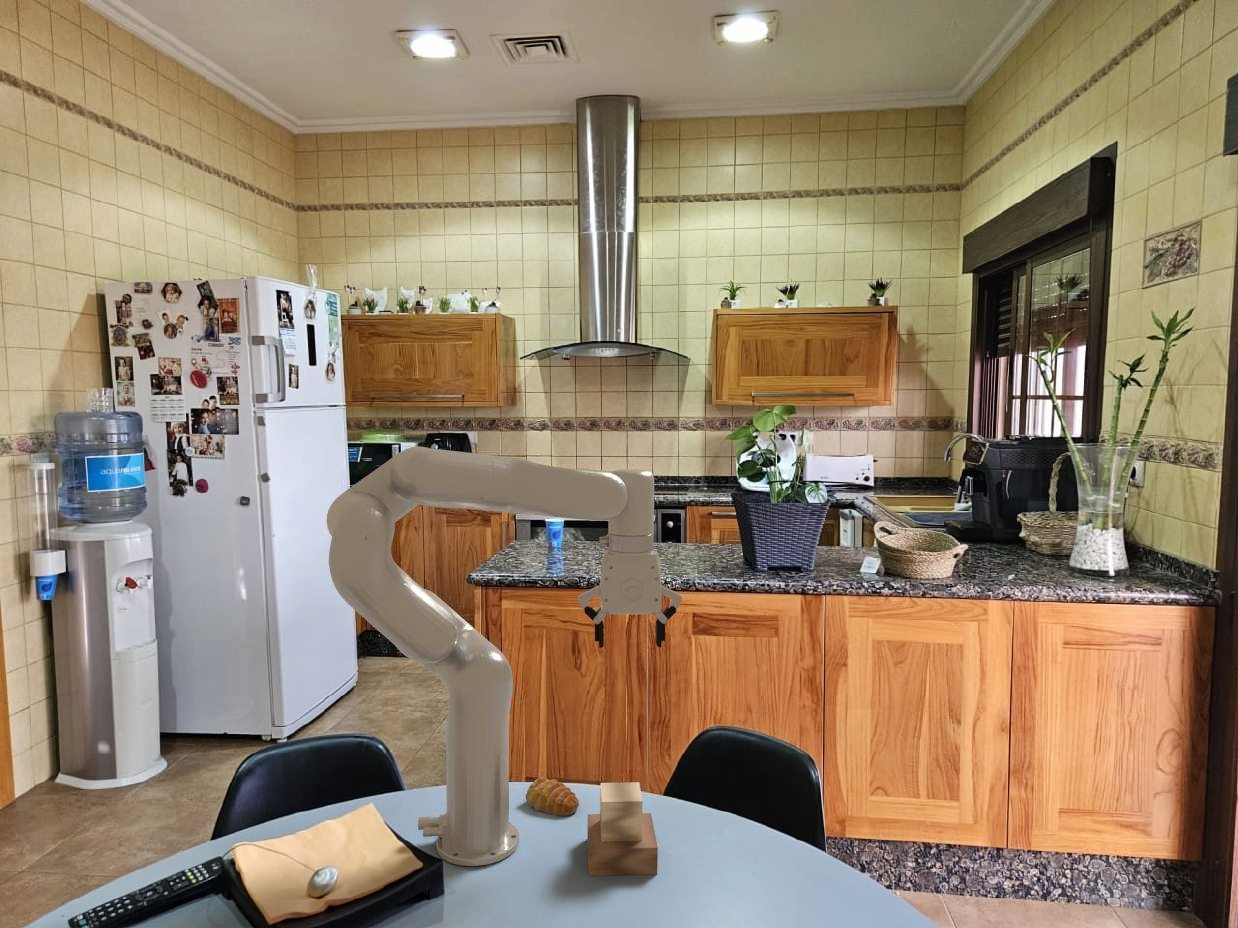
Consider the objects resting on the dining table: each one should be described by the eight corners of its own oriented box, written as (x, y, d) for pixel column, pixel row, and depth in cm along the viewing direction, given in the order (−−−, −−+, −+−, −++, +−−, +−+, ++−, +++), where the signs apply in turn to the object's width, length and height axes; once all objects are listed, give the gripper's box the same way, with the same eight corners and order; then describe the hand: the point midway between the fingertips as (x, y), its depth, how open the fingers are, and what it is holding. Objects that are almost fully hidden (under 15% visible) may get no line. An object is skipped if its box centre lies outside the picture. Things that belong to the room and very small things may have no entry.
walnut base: (588, 875, 115) (588, 848, 115) (587, 838, 125) (587, 814, 125) (657, 874, 116) (657, 847, 115) (650, 837, 125) (651, 812, 125)
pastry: (588, 807, 135) (588, 785, 135) (562, 823, 130) (562, 801, 130) (547, 791, 141) (547, 770, 141) (520, 806, 136) (520, 784, 135)
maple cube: (601, 841, 117) (601, 801, 116) (600, 820, 123) (600, 782, 122) (642, 840, 117) (642, 801, 117) (638, 819, 123) (639, 782, 123)
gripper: (578, 547, 127) (578, 652, 128) (685, 547, 128) (684, 651, 129) (578, 540, 135) (577, 639, 136) (679, 540, 136) (678, 638, 137)
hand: (629, 645), depth 132 cm, fingers open, 9 cm apart
